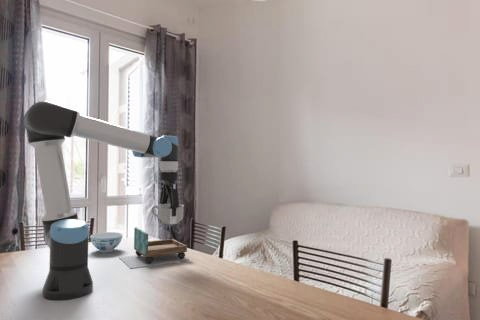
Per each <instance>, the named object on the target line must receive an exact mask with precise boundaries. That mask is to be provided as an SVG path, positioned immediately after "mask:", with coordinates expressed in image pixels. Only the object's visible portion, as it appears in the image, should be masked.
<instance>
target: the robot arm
mask: <svg viewBox="0 0 480 320" xmlns="http://www.w3.org/2000/svg"><path fill="white" fill-rule="evenodd" d="M22 120H23V127H24V130H26V131H25V132H26V137H27V142H28V145H29V146H31V147H33V149H34V153H35V154H34V155H35V158H36V159H35V160H36V165H37V171H38V177H39V181H40V187H41V192H42V193H41V195H42V198H43V204H44V211H45V214H44V215H43V217H42V218H41V221H42V226H43V227H42V228H43V234H42V235H43V240H44V243H45V244H46V246H47V247H48V248H49V271H48V273H47V276H46V280H45V282H44V284H43V287H42V297H43V298H45V299H47V300H51V301H52V300H53V301H56V300H57V301H65V300H70V299H76V298H80V297H83V296H86V295H88V294H90V293H91V292H92V291H93V289H94V281H93V278H92V275H91V273H90V270H89V266H88V265H89V236H90V235H89V234H90V229H89V224H88V222H86V221H85V220H81V219H79V217H78V212H77V211H76V210H74V209H73V208H72V207H73V206H72V201H71V196H70V190H69V185H68V178H67V171H66V166H65V160H64V154H63V153H64V152H63V147H62V144H63V143H64V142H65V141H66V138H65V137H67V138H72V137H74V136H75V137H78V138H82V139H86V140H90V141H94V142H98V143H101V144H105V145H110V146H114V147H117V148H121V149H124V150H128V151H131V152H132V155H133V156H134V157H135V158H159V159H160V162H159V163H160V166H159V167H160V169H159V170H160V171H161V172H160V175H159V178H160V181H163V182H161V183H160V184H161V186H160V187H161V188H160V194H159V195H160V196H159V204H160V205H161V204H169V203H170V206H171V207H170V208H169V209H170V224H169V225H176V224H177V225H178V223H177V207H179V204H180V203H179V194H178V183H175V181H178V180H179V172H178V171H179V147H180V146H179V138H178V136H176V135H161V136H160V137H159V136H154V135H151V134H148V133H145V132H141V131H137V130H135V129H131V128H128V127H124V126H122V125H117V124H113V123H111V122H107V121H104V120H101V119H97V118H93V117H90V116H87V115H84V114H81V113H80V111H79V110H77V109H73V108H71V107H67V106H65V105H61V104H58V103H56V102H53V101H49V100H41V101H37V102H35V103H33V104H31V105H30V107H29V108H28V109H27V110H26V111H25V113H24V116H23V119H22ZM168 201H169V203H168Z"/></svg>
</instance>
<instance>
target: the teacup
mask: <svg viewBox="0 0 480 320" xmlns="http://www.w3.org/2000/svg"><path fill="white" fill-rule="evenodd" d="M184 206H185V205H184V204H183V203H179V207H177V224H179V223H180V222H181V221H182V220H183V219H184V211H185V210H184ZM170 207H171V206H170V202H169V203H168V204H161V203H160V204H159V205H153V206H152V207H151V210H150V211H151V213H152V215H153V216H155V217H157V219H159V220H160V222H162V223H163V224H165V225H171V224H170V209H169V208H170ZM155 208H156V209H157V212H158V213H157V212H155V210H154V209H155Z"/></svg>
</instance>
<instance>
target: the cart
mask: <svg viewBox="0 0 480 320" xmlns="http://www.w3.org/2000/svg"><path fill="white" fill-rule="evenodd" d="M133 230H134V232H133V234H134V235H133V236H134V237H133V241H134V242H133V249H134V250H135V255H138V256H141V255H143V256H144V257H146V258H145V261H146V262H147V263H152V261H153V258H152V257H153V256H160V255H168V254H175V253H178V257H179V258H180V259H183V258H184V257H185V256H186V253H187V252H188V251H187V250H188V245H186V244H184V243H182V242H180V241H178V240H176V239H174V238H170V239H169V238H167V239H166V238H165V239H160V240H150V241H149V233H148V232H146V231H144V230H143V229H141V228H139V227H137V226H136V227H134V229H133ZM185 258H186V257H185Z"/></svg>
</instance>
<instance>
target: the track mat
mask: <svg viewBox="0 0 480 320" xmlns="http://www.w3.org/2000/svg"><path fill="white" fill-rule="evenodd" d="M145 258H146V257H144V256H143V255H141V256H138V255H136V254H135V255H129V256H128V255H126V256H119V258H118V259H119V260H121V261H122V262H123V263H124V265H126V266H127V267H128V268H129V269H130V270H132V269H138V268H144V267H152V266H158V265H159V266H160V265H165V264H172V263H180V262H186V261H187V262H188V261H189V258H187V257H184V258H183V259H180V258H179V257H178V253H175V254H168V255H160V256H153V257H152V258H153V261H152V263H147V262H146V261H145Z"/></svg>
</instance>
